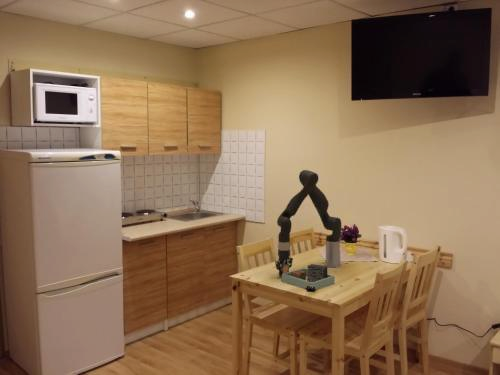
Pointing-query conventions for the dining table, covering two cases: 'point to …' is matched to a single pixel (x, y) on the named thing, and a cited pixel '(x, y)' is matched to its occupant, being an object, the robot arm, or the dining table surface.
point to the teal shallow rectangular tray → (303, 283)
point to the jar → (285, 269)
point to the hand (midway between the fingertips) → (284, 275)
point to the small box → (317, 272)
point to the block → (299, 274)
